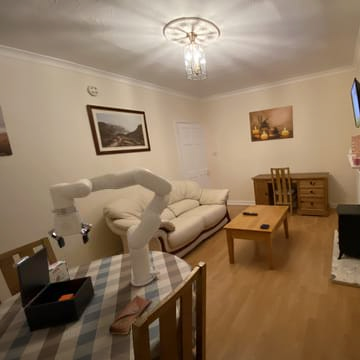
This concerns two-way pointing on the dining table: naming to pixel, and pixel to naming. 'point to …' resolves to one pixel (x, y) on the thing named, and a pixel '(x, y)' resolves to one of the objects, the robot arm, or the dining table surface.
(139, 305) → the sunglasses case
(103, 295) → the dining table surface
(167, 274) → the dining table surface
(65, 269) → the candy bar box
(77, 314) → the black box
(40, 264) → the box lid
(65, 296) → the packet
